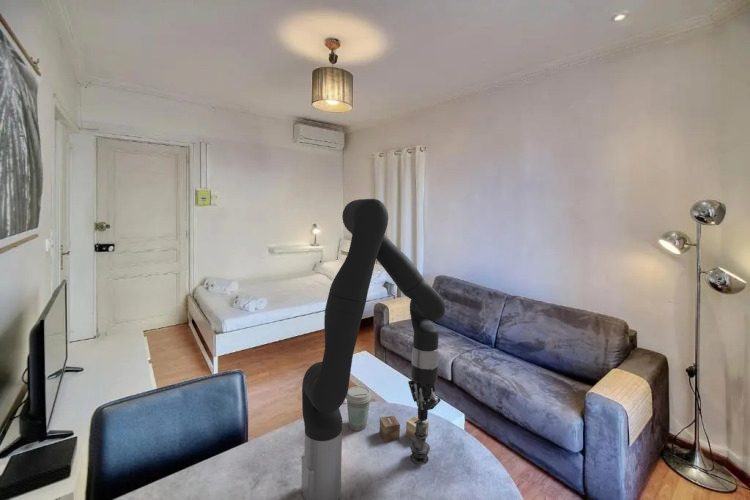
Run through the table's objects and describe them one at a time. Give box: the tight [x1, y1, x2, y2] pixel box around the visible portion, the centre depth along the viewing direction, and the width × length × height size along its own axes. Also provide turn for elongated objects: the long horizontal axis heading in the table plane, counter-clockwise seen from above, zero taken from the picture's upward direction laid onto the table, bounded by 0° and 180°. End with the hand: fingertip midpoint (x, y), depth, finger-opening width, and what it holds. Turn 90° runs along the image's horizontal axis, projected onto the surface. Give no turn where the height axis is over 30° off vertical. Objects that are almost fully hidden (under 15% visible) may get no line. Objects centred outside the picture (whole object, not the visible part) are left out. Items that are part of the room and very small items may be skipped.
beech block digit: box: [405, 414, 430, 441], centre depth 110 cm, size 5×5×5 cm
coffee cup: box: [345, 385, 372, 432], centre depth 114 cm, size 8×8×12 cm
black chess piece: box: [409, 421, 431, 466], centre depth 100 cm, size 6×6×12 cm
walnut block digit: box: [379, 415, 401, 443], centre depth 110 cm, size 5×5×5 cm
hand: (422, 419), depth 99 cm, fingers closed
